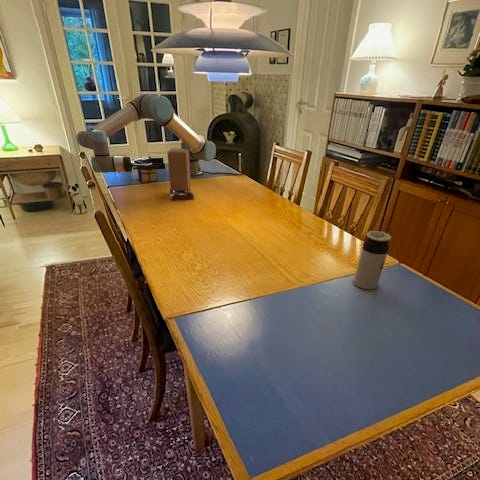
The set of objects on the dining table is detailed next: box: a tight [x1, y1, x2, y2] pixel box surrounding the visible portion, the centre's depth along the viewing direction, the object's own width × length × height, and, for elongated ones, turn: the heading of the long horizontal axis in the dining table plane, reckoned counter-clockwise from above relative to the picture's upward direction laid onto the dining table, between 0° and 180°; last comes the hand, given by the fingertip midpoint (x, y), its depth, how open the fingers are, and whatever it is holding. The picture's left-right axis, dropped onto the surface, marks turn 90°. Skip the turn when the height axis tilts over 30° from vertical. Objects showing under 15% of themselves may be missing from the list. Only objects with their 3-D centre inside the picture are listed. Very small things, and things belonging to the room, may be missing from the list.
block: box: [167, 148, 192, 191], centre depth 188 cm, size 10×10×20 cm
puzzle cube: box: [137, 163, 158, 183], centre depth 220 cm, size 10×10×10 cm
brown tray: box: [169, 187, 194, 201], centre depth 195 cm, size 12×14×4 cm
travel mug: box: [353, 230, 392, 290], centre depth 114 cm, size 8×8×18 cm
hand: (164, 163), depth 185 cm, fingers open, 13 cm apart
